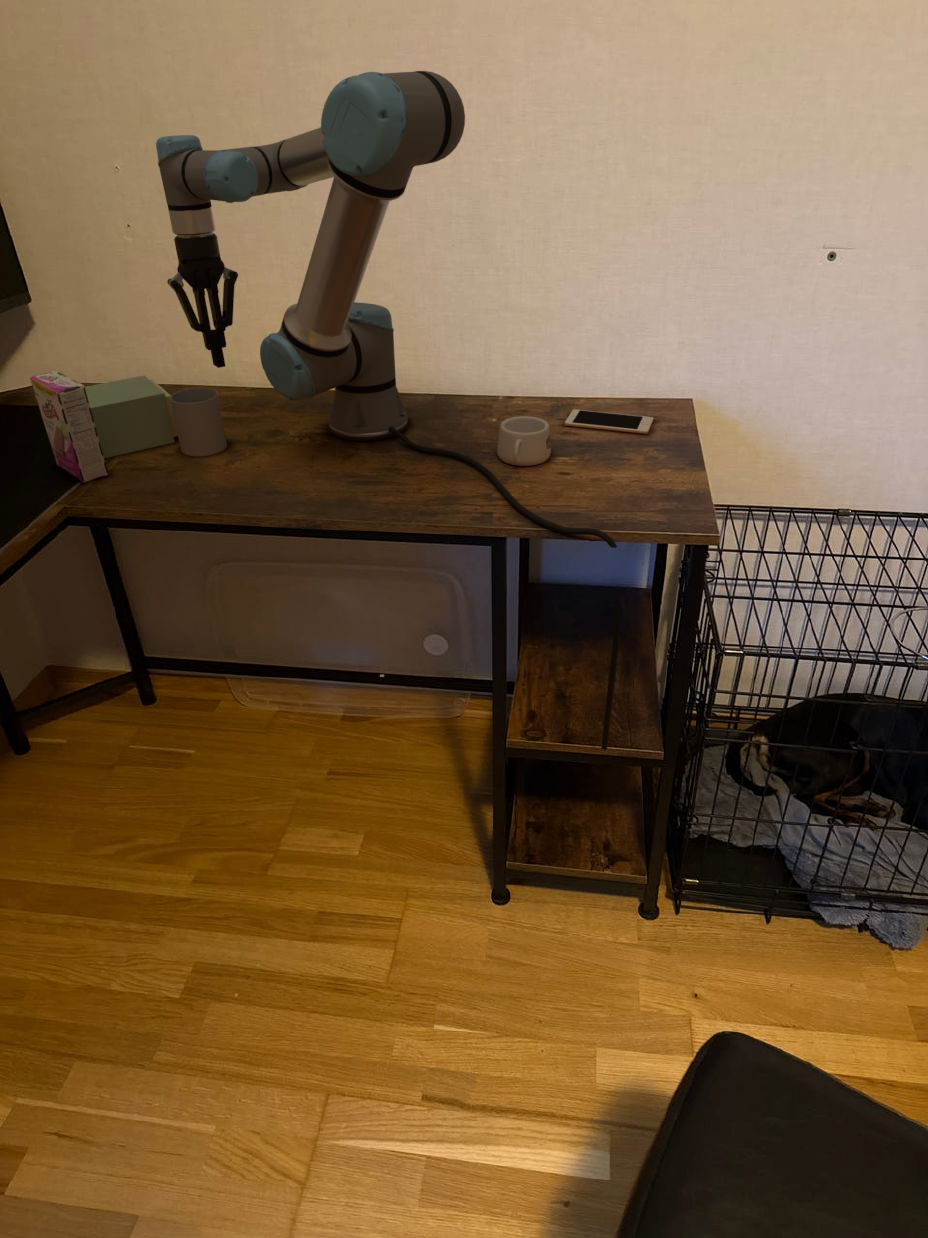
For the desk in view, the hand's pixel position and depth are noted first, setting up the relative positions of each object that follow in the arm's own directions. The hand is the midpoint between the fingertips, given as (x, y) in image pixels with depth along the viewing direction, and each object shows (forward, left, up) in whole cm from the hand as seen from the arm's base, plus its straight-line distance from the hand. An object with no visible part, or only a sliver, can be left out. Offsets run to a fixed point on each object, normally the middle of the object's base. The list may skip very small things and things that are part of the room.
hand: (219, 365), depth 167 cm
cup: (-12, +9, -11) cm, 18 cm away
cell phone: (-47, -60, -11) cm, 77 cm away
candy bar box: (-9, +31, -11) cm, 34 cm away
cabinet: (0, +20, -11) cm, 23 cm away
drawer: (0, +16, -10) cm, 19 cm away
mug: (-51, -36, -11) cm, 63 cm away
